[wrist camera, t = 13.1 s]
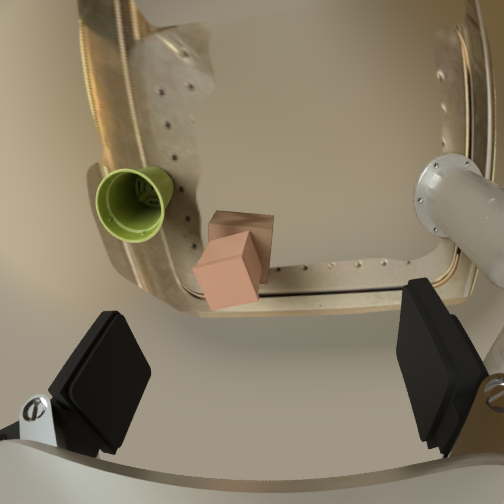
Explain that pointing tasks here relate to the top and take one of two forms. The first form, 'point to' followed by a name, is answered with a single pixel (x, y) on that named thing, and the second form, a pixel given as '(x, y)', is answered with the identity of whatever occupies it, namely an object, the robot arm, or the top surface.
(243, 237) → the peach lipped block
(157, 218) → the plant pot
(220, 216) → the walnut box
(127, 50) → the top surface
